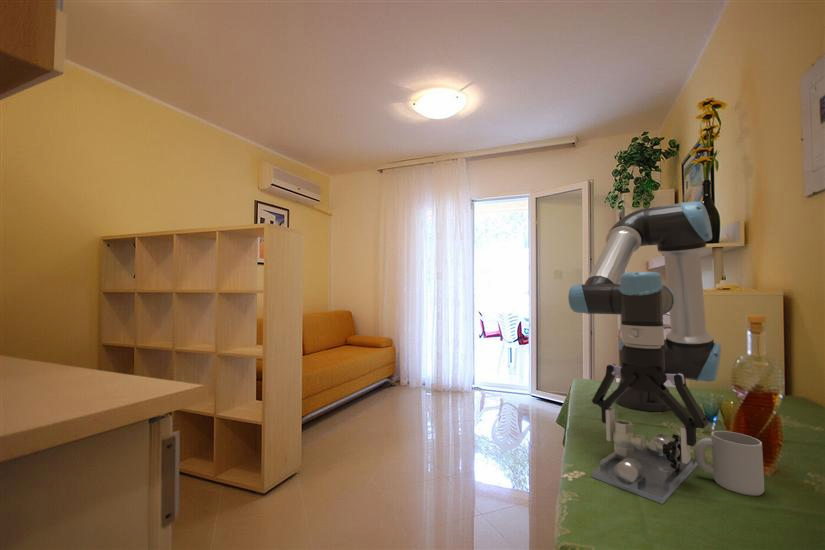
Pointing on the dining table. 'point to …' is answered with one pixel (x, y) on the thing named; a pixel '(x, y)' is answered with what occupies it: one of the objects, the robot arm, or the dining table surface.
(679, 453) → the valve
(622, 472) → the tray
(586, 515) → the dining table surface
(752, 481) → the cup
